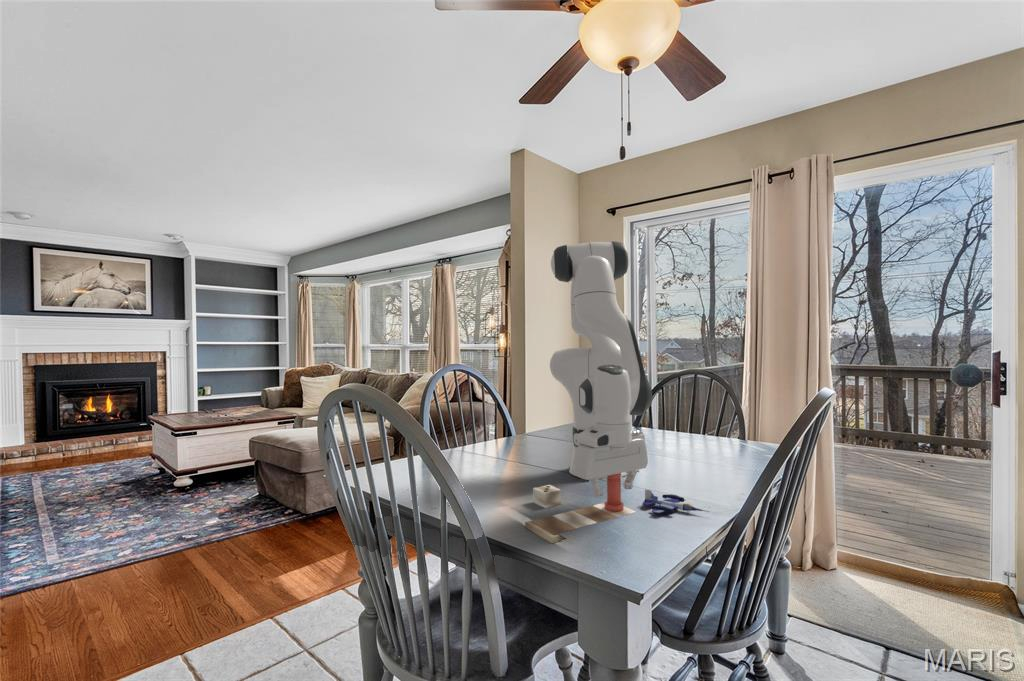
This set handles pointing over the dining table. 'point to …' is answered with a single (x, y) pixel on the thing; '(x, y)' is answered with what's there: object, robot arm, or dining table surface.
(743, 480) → the dining table surface
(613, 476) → the pawn
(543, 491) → the die
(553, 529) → the track board
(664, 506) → the toy airplane
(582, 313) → the robot arm
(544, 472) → the dining table surface
